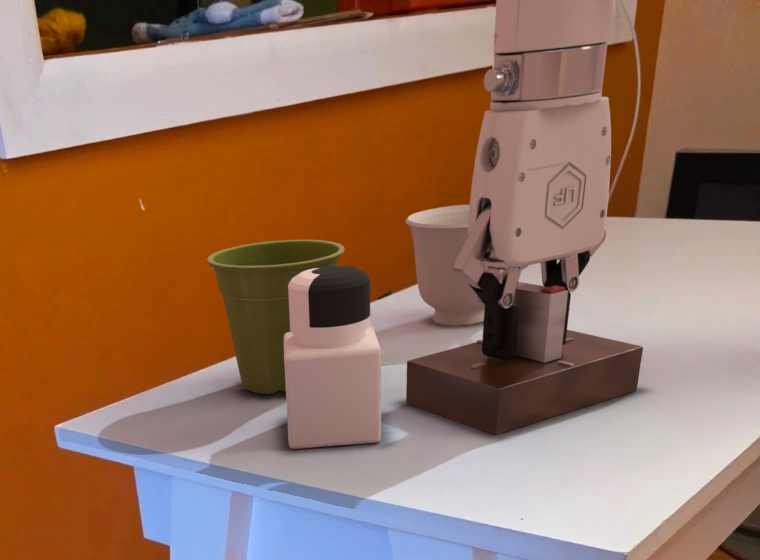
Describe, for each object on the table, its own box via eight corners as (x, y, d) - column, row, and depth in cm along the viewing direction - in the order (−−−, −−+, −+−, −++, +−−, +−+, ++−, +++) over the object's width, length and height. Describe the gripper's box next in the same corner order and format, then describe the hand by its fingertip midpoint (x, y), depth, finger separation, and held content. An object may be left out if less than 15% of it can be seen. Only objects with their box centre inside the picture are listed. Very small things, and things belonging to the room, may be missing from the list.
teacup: (487, 344, 93) (495, 230, 87) (380, 323, 103) (380, 220, 97) (567, 317, 98) (579, 208, 92) (457, 300, 108) (462, 201, 103)
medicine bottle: (373, 413, 79) (373, 256, 72) (381, 443, 74) (382, 276, 67) (287, 420, 80) (279, 265, 73) (289, 450, 74) (280, 285, 67)
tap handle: (486, 348, 80) (491, 280, 76) (503, 343, 80) (508, 276, 77) (543, 363, 75) (551, 291, 72) (561, 358, 75) (568, 287, 72)
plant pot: (320, 407, 82) (316, 265, 76) (197, 401, 87) (183, 267, 80) (363, 367, 90) (362, 236, 84) (249, 363, 95) (240, 239, 89)
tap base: (539, 364, 86) (543, 321, 84) (637, 390, 78) (644, 344, 76) (405, 403, 81) (406, 358, 79) (495, 435, 73) (499, 386, 71)
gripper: (490, 94, 61) (473, 383, 72) (676, 65, 67) (635, 336, 77) (416, 96, 67) (410, 364, 77) (594, 69, 72) (566, 321, 83)
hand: (523, 347), depth 77 cm, fingers open, 4 cm apart
